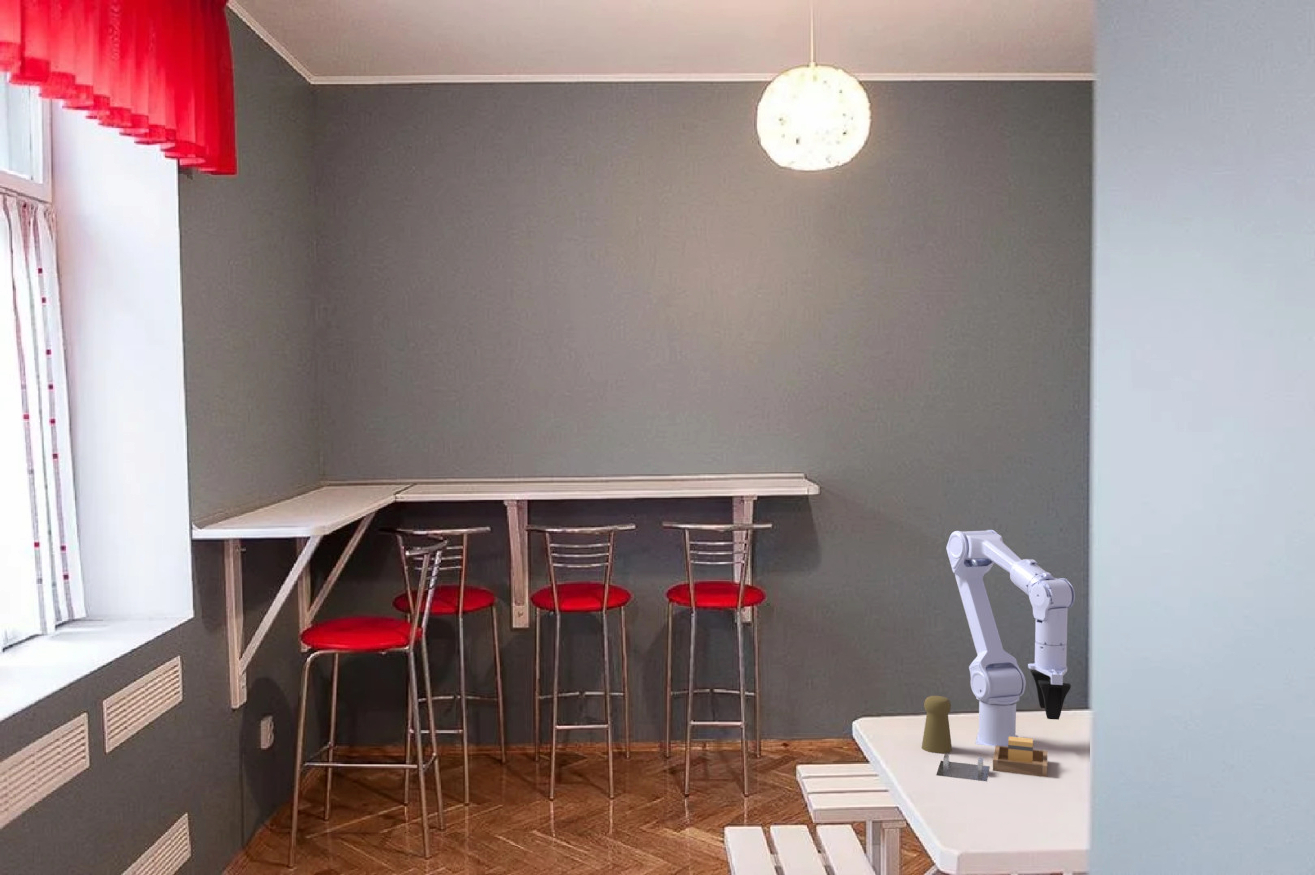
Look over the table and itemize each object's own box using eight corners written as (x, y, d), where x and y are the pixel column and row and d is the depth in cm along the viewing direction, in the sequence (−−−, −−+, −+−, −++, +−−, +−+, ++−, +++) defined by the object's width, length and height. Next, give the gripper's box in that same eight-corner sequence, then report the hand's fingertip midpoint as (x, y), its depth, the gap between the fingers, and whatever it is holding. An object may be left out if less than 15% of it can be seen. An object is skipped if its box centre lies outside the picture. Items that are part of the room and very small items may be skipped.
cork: (953, 757, 217) (954, 701, 216) (921, 755, 218) (922, 699, 218) (951, 748, 223) (952, 694, 222) (920, 746, 224) (921, 692, 223)
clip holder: (940, 763, 213) (941, 748, 213) (989, 769, 210) (989, 753, 209) (936, 778, 204) (936, 762, 204) (986, 784, 201) (987, 768, 201)
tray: (995, 758, 216) (995, 745, 216) (1047, 764, 213) (1047, 751, 213) (992, 773, 207) (992, 760, 207) (1046, 780, 204) (1047, 766, 204)
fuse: (1007, 762, 212) (1008, 736, 212) (1032, 764, 211) (1033, 738, 211) (1007, 766, 209) (1008, 740, 209) (1032, 769, 208) (1033, 743, 208)
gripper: (1023, 634, 218) (1021, 702, 219) (1035, 649, 204) (1033, 722, 204) (1060, 635, 217) (1059, 704, 217) (1075, 651, 203) (1073, 725, 203)
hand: (1049, 713), depth 211 cm, fingers open, 7 cm apart
